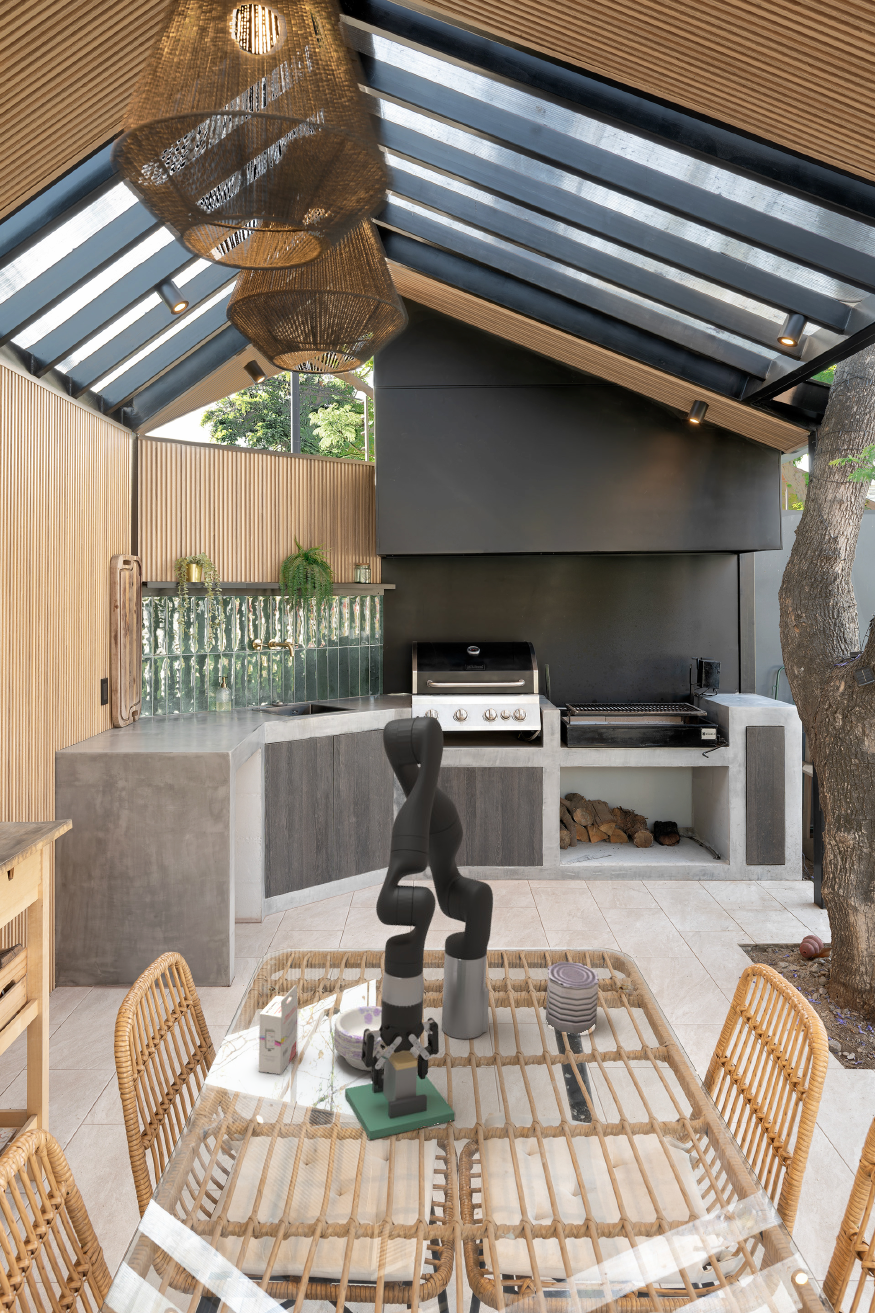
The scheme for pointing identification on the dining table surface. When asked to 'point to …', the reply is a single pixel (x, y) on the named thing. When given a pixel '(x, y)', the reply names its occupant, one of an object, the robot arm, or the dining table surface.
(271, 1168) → the dining table surface
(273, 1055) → the ink cartridge box
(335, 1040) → the paper bowls
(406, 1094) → the block
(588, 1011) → the can
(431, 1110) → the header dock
